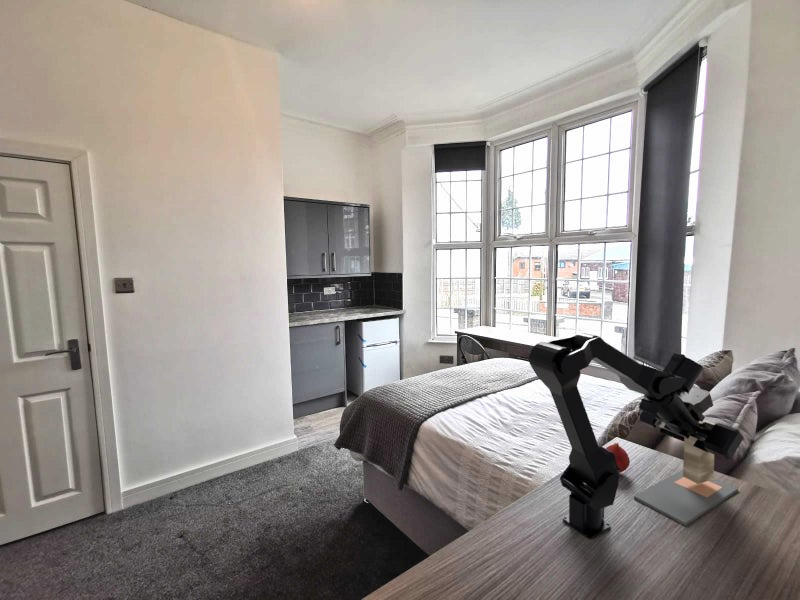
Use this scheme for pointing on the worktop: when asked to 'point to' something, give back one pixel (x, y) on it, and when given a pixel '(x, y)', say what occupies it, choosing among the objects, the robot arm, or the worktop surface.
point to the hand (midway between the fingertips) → (703, 447)
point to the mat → (685, 497)
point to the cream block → (697, 461)
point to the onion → (620, 456)
